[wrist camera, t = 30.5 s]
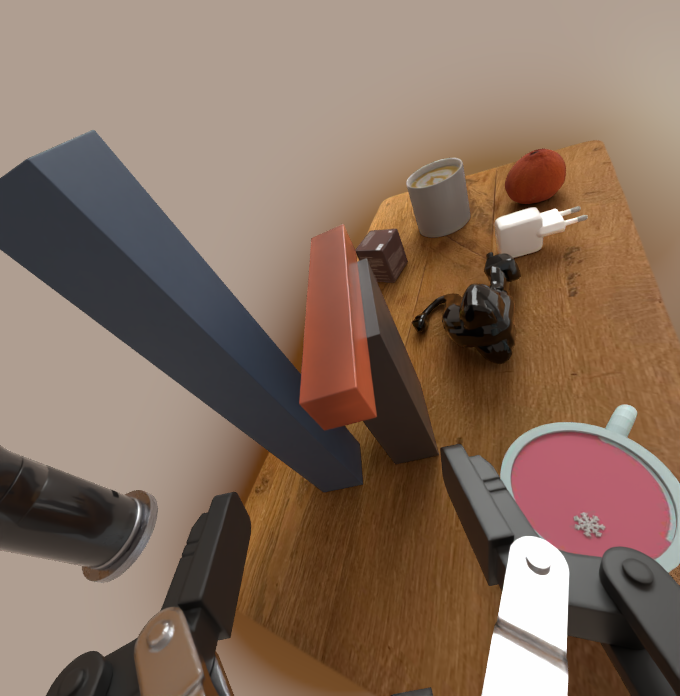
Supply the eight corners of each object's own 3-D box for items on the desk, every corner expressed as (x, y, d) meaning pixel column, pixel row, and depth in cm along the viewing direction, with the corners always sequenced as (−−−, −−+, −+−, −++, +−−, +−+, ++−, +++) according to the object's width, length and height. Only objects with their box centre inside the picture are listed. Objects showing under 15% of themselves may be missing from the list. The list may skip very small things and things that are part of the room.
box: (382, 261, 64) (369, 229, 59) (409, 262, 60) (398, 227, 55) (367, 282, 61) (353, 250, 56) (394, 283, 57) (382, 249, 53)
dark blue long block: (323, 492, 37) (-49, 213, 13) (323, 452, 41) (28, 174, 17) (363, 484, 36) (26, 158, 12) (359, 443, 39) (94, 129, 16)
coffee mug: (462, 234, 58) (453, 181, 52) (412, 239, 64) (398, 192, 58) (480, 195, 65) (473, 143, 58) (432, 203, 71) (422, 157, 64)
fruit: (509, 191, 61) (507, 147, 56) (565, 180, 56) (569, 131, 51) (502, 217, 57) (499, 173, 52) (563, 208, 52) (566, 157, 46)
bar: (324, 431, 18) (298, 404, 16) (325, 264, 31) (311, 238, 29) (377, 417, 17) (356, 387, 15) (356, 251, 30) (343, 223, 28)
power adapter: (575, 225, 48) (579, 188, 44) (588, 242, 45) (592, 203, 41) (495, 247, 52) (492, 215, 49) (501, 264, 49) (498, 231, 45)
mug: (620, 637, 22) (657, 631, 15) (488, 537, 28) (474, 502, 21) (689, 473, 25) (743, 411, 19) (559, 419, 32) (565, 358, 25)
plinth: (395, 464, 36) (313, 355, 23) (383, 392, 43) (316, 278, 30) (439, 455, 34) (379, 333, 21) (420, 382, 41) (366, 257, 28)
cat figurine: (418, 380, 45) (446, 308, 56) (526, 365, 35) (534, 281, 47) (382, 328, 41) (420, 261, 52) (492, 295, 32) (509, 222, 43)
